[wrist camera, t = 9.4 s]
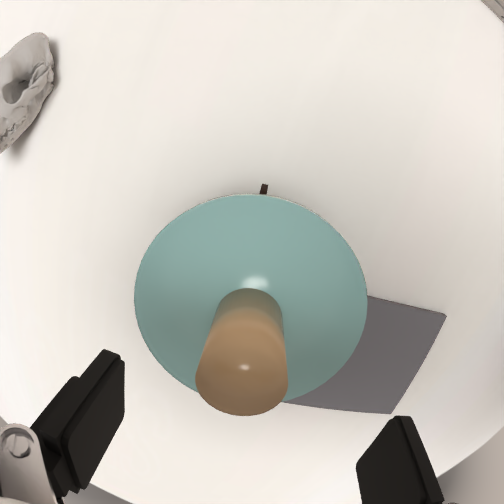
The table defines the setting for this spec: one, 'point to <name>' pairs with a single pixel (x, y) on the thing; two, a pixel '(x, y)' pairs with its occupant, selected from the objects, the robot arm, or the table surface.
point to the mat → (379, 360)
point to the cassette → (496, 7)
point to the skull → (23, 85)
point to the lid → (250, 301)
